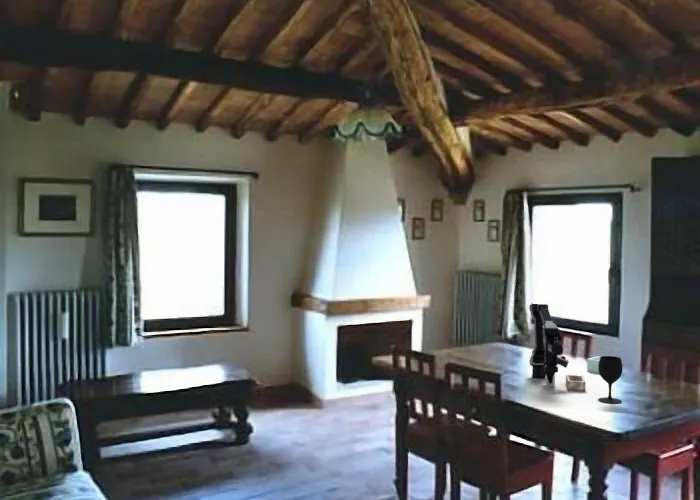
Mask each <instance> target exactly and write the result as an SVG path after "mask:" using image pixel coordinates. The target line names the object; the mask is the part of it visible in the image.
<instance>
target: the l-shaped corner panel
mask: <svg viewBox="0 0 700 500" xmlns="http://www.w3.org/2000/svg"><path fill="white" fill-rule="evenodd" d="M600 357H601V356H599V355H597V356H594V357H590V358H587V361H586V371H587V372H589V373H596V374H599V370H598V365H599V360H600Z"/></svg>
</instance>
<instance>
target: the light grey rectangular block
mask: <svg viewBox="0 0 700 500" xmlns="http://www.w3.org/2000/svg"><path fill="white" fill-rule="evenodd" d="M555 376H556V373H555V374H554V376H553V380H552V384H549V381H548V378H547V376H546V377H545V387H549V388H555V384H556V383H555V382H556V377H555Z"/></svg>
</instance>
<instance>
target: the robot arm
mask: <svg viewBox="0 0 700 500" xmlns="http://www.w3.org/2000/svg"><path fill="white" fill-rule="evenodd" d="M529 311H530V316H531V317H532V319H533V324H534V325H533V327H534V329H533V330H534V331H533V333H534V348H533V349H532V351H531V355H530V357H529V366H531V368H532V373H531V376H532V377H533V379H546V376H547V378H548V381H549V384H552V380H553V376H554V374H555V375H556V373H559V367H558V365H559V366H562V367H563V368H567V367H568V364H569V360H568V359H566V356H564V355H562V354H563V352H564V347H563V346H562V345H561V344H560V342H562V338H563V336H562V333H561V331H560V329H559V327H558V325H557V324H556V323H554V322H553V319H552V316H551V314H550V313H551V312H550V309H549V304H548V303H545V302H532V303H531V304H529ZM560 355H561V356H560Z"/></svg>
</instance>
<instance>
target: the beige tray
mask: <svg viewBox="0 0 700 500" xmlns="http://www.w3.org/2000/svg"><path fill="white" fill-rule="evenodd" d="M565 385H566V388H567V390H568V391H576V392H577V391H578V392H586V380H585V378H584V376H583V375H579V374H578V375H577V374H573V375H572V374H565Z"/></svg>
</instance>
